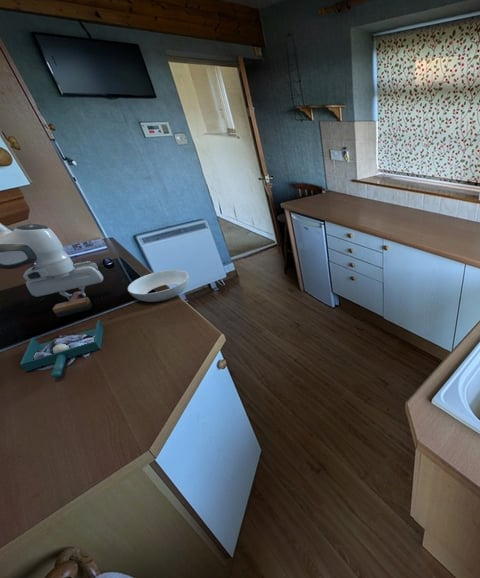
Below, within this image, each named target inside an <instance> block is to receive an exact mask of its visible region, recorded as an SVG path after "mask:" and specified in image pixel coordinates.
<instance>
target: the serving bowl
mask: <svg viewBox="0 0 480 578" xmlns="http://www.w3.org/2000/svg"><path fill="white" fill-rule="evenodd" d="M189 284H190V276H189V273H188V272H187V271H185V270H181V269H166V270H160V271H159V270H158V271H155V272H152V273H149V274H145V275H143V276H141V277H140V276H139V278H136V279H135V280H133V281H132V282H130V283H129V285H128V286H127V291H128V292H129V294H130V295H131V297H133V298H134V299H136V300H138V301H141V302H146V303H156V302H163V301H167V300H170V299H173V298H175V297H177V296H179V295H181V294H182V293H183V292H184V291H185V290H186V289H187V288H188V286H189ZM166 285H175V286H172V287H171V288H168V289H164V290H160V291H156V292H150V291H152V290H154V289H156V288H159V287H162V286H166ZM149 292H150V293H149Z"/></svg>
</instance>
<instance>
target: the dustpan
mask: <svg viewBox="0 0 480 578" xmlns="http://www.w3.org/2000/svg"><path fill="white" fill-rule="evenodd" d="M104 330H105V326H104V324H103V323H102V322H101V320H100V319H98V320H96V325H95V328H92V329H89V330H85V331H82V332H78V333H75V334H73V335H78V334H86V335H90V336H93V335H95V337H94V342H91V343H87V344H84V345H81V346H77V347H74V348H71V349H67V350H64V351H61V352H57V353H54V354H51V355H47V356H44V357H41V358H37V359H34V360H33V358H34V355H35V353H36V352H37V351H41V350H43V349H44V348H45V346H46V345H48V344H49V343H51V342H52V341H53V340H50V341H46V342H43V343H39V342H38V340H37V339H36V338H35V337H32V338H31V339H30V341H29V343H28V345H27V347H26V350H25V352H24V354H23V356H22V358H21V360H20V363H19V366H20V367H21V368H22V369H23V370H24V371H25V372H30V371H34V370H36V369H35V368H37V369H39V368H38V367H41V366H44V367H46V366H45V365H47V366H49V365H48V364H50V365H52V364H51V363H54V362H55V363H54V364H53V368H52V370H51V373H50V377H51V378H53V379H58V378H60V377H61V376H62V375H63V371H64V367H65V364H66V360H68V359H67V358H70V357H73V358H75V357H74V356H76V357H78V356H77V355H79V356H81V355H80V354H82V355H84V354H83V353H86V354H88V353H87V352H89V353H91V352H90V351H92V352H95V351H99V350H101V348H102V344H103V343H102V342H103V338H104V337H103V336H104ZM70 359H71V358H70ZM41 368H42V367H41ZM33 369H34V370H33Z"/></svg>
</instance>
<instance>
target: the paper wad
mask: <svg viewBox="0 0 480 578" xmlns="http://www.w3.org/2000/svg"><path fill="white" fill-rule="evenodd" d="M67 349H70V348H69V346H68V345H66V344H58V345H56V346H55V347H54V348H53V353H57V352H61V351H64V350H67Z"/></svg>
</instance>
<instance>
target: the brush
mask: <svg viewBox="0 0 480 578" xmlns="http://www.w3.org/2000/svg"><path fill="white" fill-rule="evenodd" d="M79 292H81V290H78V291H74V292H73V293H72V294H73V295H72V297H71V299H70V300H68V301H64V302H60V303H56V304H55V305H54V306H53V308H52V311H53V313H54V314H55V316H56V317H57V318H62V317H67V316H70V315H73V314H77V313H81V312H85V311H89V310H91V309H92V306H93V303H92V302H91V299H90V297H88V296H85V297H80V296H79V295H78V293H79Z"/></svg>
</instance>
